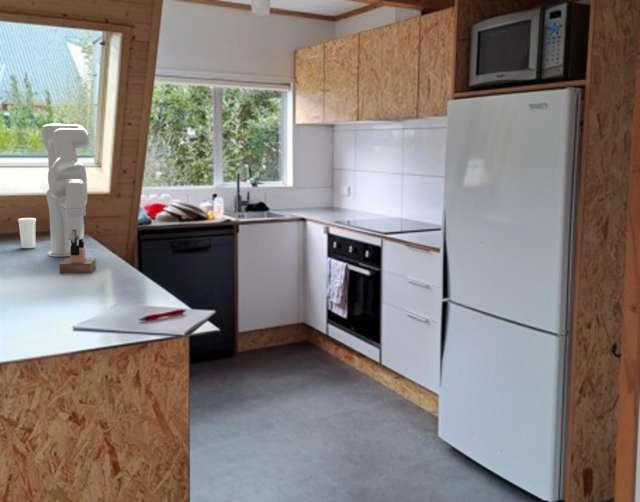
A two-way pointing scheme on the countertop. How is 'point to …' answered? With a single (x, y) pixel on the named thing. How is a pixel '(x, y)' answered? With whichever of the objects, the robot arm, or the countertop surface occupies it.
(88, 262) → the walnut base
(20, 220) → the cup
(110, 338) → the countertop surface
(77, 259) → the terracotta cube
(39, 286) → the countertop surface
